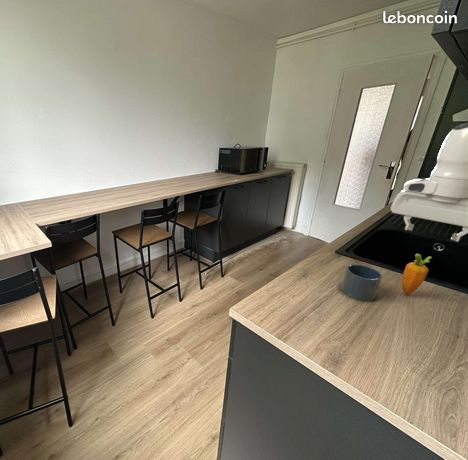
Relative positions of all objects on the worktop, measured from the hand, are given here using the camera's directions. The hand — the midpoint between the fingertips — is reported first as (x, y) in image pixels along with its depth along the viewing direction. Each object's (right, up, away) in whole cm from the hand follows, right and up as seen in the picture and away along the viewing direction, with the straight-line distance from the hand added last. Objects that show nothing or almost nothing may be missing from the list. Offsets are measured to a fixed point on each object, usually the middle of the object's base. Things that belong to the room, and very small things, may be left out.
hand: (430, 235), depth 72 cm
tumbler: (-12, -19, +12) cm, 25 cm away
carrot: (+2, -20, +10) cm, 22 cm away
